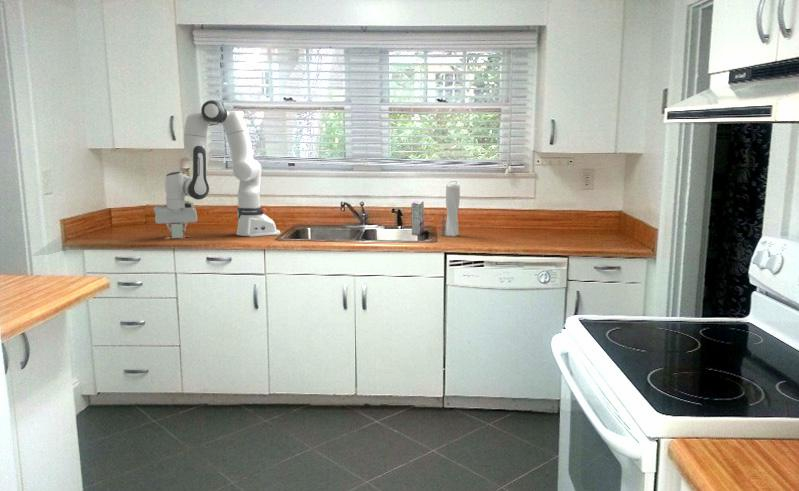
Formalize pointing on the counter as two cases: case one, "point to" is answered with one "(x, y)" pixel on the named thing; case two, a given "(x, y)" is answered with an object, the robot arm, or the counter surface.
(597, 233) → the counter surface
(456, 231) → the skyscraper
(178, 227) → the sage block
